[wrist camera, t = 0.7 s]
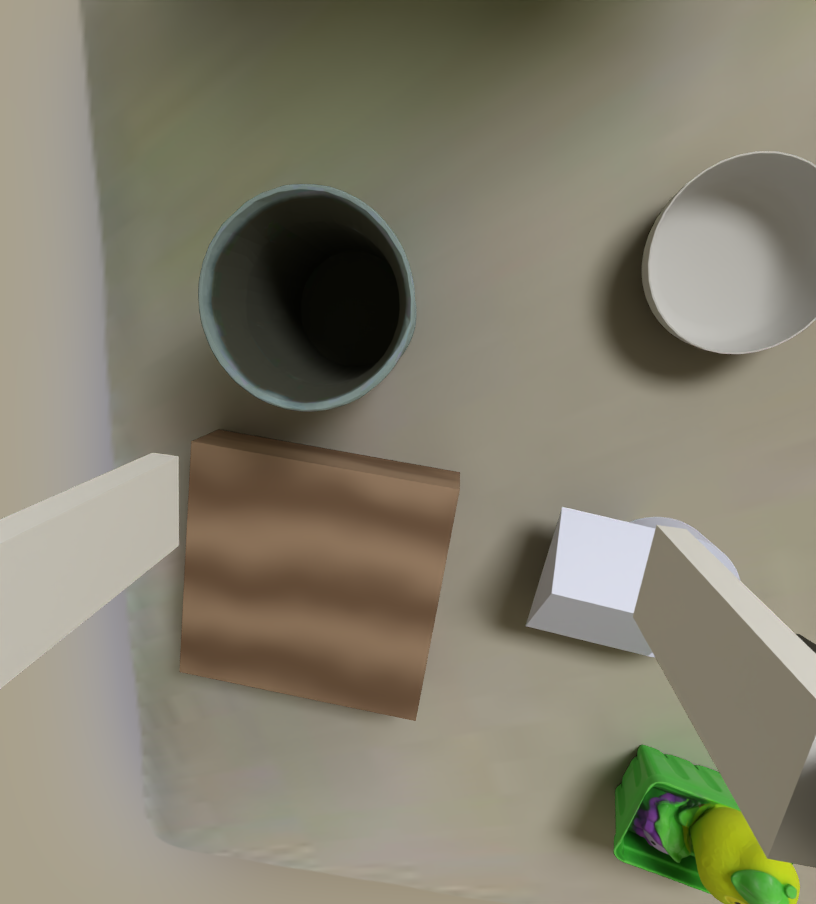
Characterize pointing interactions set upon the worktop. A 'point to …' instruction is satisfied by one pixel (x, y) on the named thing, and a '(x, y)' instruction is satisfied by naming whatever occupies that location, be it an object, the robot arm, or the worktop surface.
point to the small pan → (736, 255)
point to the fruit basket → (694, 832)
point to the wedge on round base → (600, 578)
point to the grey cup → (306, 297)
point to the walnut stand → (313, 570)
